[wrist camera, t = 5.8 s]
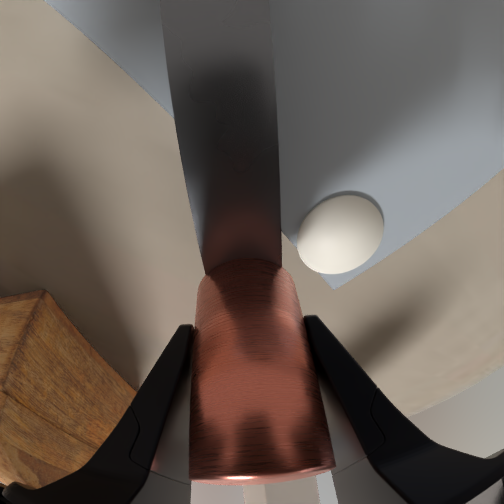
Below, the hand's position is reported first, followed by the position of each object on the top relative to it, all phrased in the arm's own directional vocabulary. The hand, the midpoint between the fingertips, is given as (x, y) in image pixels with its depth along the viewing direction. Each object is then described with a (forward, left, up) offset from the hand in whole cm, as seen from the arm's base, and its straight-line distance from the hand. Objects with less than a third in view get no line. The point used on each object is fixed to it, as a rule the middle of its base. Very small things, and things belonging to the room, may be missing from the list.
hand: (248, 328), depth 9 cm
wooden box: (+7, +28, -5) cm, 29 cm away
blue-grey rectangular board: (+7, -11, -5) cm, 15 cm away
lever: (+7, -5, -3) cm, 10 cm away
